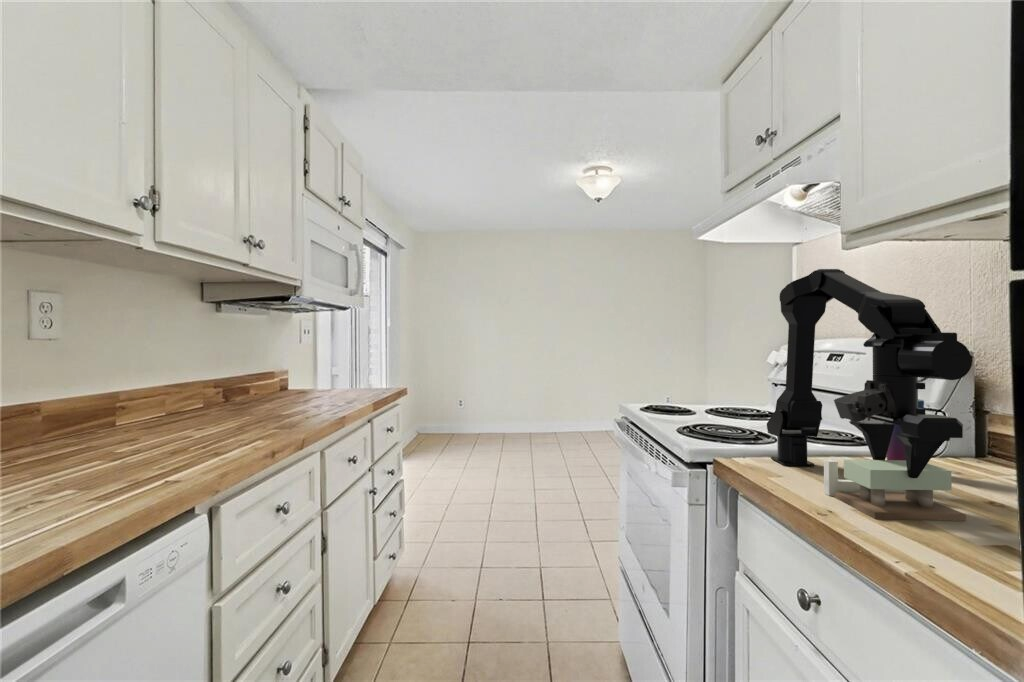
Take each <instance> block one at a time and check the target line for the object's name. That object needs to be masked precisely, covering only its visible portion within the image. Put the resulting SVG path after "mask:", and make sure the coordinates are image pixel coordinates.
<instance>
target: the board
mask: <svg viewBox="0 0 1024 682" xmlns="http://www.w3.org/2000/svg"><path fill="white" fill-rule="evenodd" d="M843 478H844V479H846V480H851V481H853V482H856V483H858V484H860V485H862V486H865V487H867V488H869V489H895V490H933V491H952V490H953V489H952V482H953V481H952V470H949V469H946V468H942V467H939V466H936V465H934V464H933V465H932V464H929V463H927V465H926V466H925V468H924V469H923V471H922V472H921V474H920V475H919V477H918V478H910V477H909V476H908V471H907V464H906V460H886V459H885V460H873V459H843Z"/></svg>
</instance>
